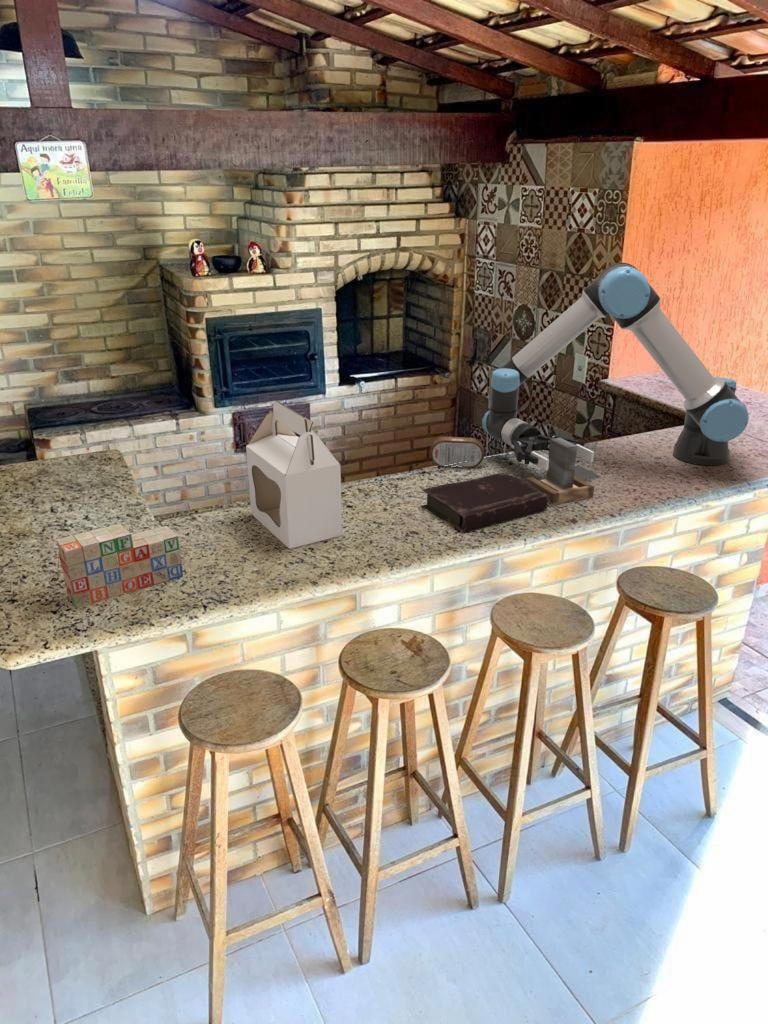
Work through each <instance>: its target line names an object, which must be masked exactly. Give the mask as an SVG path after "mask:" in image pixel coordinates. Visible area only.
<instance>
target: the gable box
mask: <svg viewBox="0 0 768 1024" xmlns="http://www.w3.org/2000/svg"><path fill="white" fill-rule="evenodd" d="M272 403H273V406H272V407H273V408H272V410H269V412H268V413H267V414H266V415H265V416H264V418H263V419H262V421H261V422H260V424H259V425H258V427H257V429H256V430H255V431H254V434H253V435H252V437H251V438H250V440H249V441H248V443H247V445H246V447H245V450H246V460H247V461H246V462H247V463H246V464H247V473H248V476H247V477H248V489H249V497H250V498H249V500H250V501H249V502H250V512H251V515H252V516H253V517H254V518H255V519H256V520H257V521H258V522H259V523H260V524H262V525H263V526H264V527H265V528H266V529H267V530H268V531H269V532H270V533H272V535H273V536H274V537H276V538H277V539H278V541H280V542H281V543H282V544H284V546H286V548H288V549H289V550H291V549H296V548H298V547H303V546H307V545H311V544H314V543H318V542H321V541H322V542H323V541H327V540H330V539H333V538H334V539H335V538H337V537H341V536H342V535H343V524H342V523H343V521H342V517H343V516H342V485H341V484H342V478H341V477H342V476H341V473H342V471H341V463H340V461H338V460H337V459H336V458H335V457H334V455H333V454H332V453H331V451H330V450H329V448H328V447H327V446H326V445H325V444H324V442H323V441H322V439H321V438H320V437H319V436H318V434H317V433H315V432H313V431H311V429H312V427H313V424H314V422H313V421H312V420H310V419H309V418H307V417H305V416H304V415H303V414H300V413H298V412H297V411H295V410H294V409H292V408H290V407H289V406H287V405H285V404H283V403H282V402H280V401H279V400H274V401H273V402H272ZM296 434H298V435H299V436H297V435H296ZM311 461H312V462H313V464H311Z"/></svg>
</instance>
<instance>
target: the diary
mask: <svg viewBox="0 0 768 1024" xmlns="http://www.w3.org/2000/svg"><path fill="white" fill-rule="evenodd" d="M421 491H422V492H423V493H425V494H426V504H423V505H421V507H422V508H423V507H424V509H425V510H426V509H427V510H426V511H428V512H430V513H431V514H433V515H435V516H436V517H438V518H440V519H442V520H443V521H449V522H451V523H452V524H454V525H456V526H457V527H460V528H458V530H460V529H463V531H462V533H467V532H470V530H471V531H473V530H477V529H481V528H484V527H487V525H488V526H491V524H492V525H495V524H494V523H496V524H499V523H502V521H503V522H506V520H507V521H510V520H509V519H511V520H513V518H514V519H517V518H520V516H521V517H524V516H528V515H532V514H536V513H538V512H543V511H547V508H548V496H547V494H545V493H543V492H541V491H539V490H537V489H535V488H533V487H532V486H530V485H528V484H527V483H526V481H523V480H521V479H520V478H517V477H516V476H512V475H511V474H508V473H506V472H498V473H494V474H491V475H490V474H489V475H485V476H482V477H477V478H473V479H468V480H464V481H458V482H451V483H444V484H439V485H436V486H432V487H428V488H424V489H421ZM498 522H499V523H498ZM480 527H481V528H480Z"/></svg>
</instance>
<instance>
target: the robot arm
mask: <svg viewBox="0 0 768 1024" xmlns="http://www.w3.org/2000/svg"><path fill="white" fill-rule="evenodd" d="M661 301H662V299H661V297H660V296H659V294H658V293H657V292H656V290H655V289H654V288H653V287H652V285H651V284H650V283H649V280H648V279H647V277H646V276H645V274H644V273H642V272H641V271H640V270H638V268H637V267H636V266H635V265H633V264H631V263H628V262H616V263H612V264H610V265H609V266H607V267H606V268H605V269H604V270H602V271H601V272H600V273H599V275H598V276H596V278H595V279H594V280H593V281H591V282H590V283H589V284H588V286H587V287H585V288H584V289H583V290H582V295H581V297H580V298H579V299H577V300H576V301H575V302H574V303H573V304H571V305H570V306H569V307H568V308H567V309H566V310H565V311H563V312H562V314H560V315H559V316H558V317H557V318H556V319H555V320H553V321H552V322H551V323H550V324H549V325H548V326H547V327H546V328H544V329H543V330H542V331H541V332H540V333H539V334H538V335H536V336H535V337H534V338H533V339H532V340H531V341H530V342H528V343H527V344H526V345H525V346H524V347H523V348H522V349H520V350H519V351H518V352H517V353H516V354H515V355H514V356H512V358H510V359H509V360H508V361H507V362H506V363H503V364H501V365H499V367H498V368H497V369H495V370H493V372H492V374H491V375H492V376H491V380H490V404H489V410H488V411H486V412H485V413H484V416H483V418H482V420H481V425H482V429H483V430H484V432H485V433H486V434H489V436H491V437H492V438H494V439H497V440H499V441H501V442H503V443H504V444H507V445H508V446H510V451H512V452H513V454H514V456H515V458H516V462H517V463H521V462H522V461H524V463H523V465H530V464H533V465H535V466H537V467H539V468H540V469H541V470H544V471H546V472H547V470H548V467H549V459H548V457H545V456H543V455H541V454H539V453H538V451H541V452H542V451H546V452H547V451H548V452H549V443H550V439H554V438H562V439H564V440H566V441H568V442H570V443H572V444H574V445H576V446H577V453H576V457H579V458H581V459H582V460H585V461H586V462H588V463H593V462H594V458H595V451H593V450H591V449H589V448H587V447H585V443H586V442H585V441H584V440H578V439H574V438H569V437H564V436H560V435H557V434H554V433H551V434H550V436H545V435H544V434H543V435H542V433H541V431H540V429H539V428H537V426H534V425H532V424H530V423H528V422H527V421H523V420H522V419H520V418H517V415H518V404H519V403H518V401H519V391H520V386H522V385H523V383H525V382H526V381H527V380H528V379H529V378H531V377H532V376H533V375H534V374H535V373H536V372H538V371H539V370H540V369H541V368H542V367H544V365H545V364H547V363H548V362H549V361H551V360H552V359H554V357H555V356H556V355H558V353H560V352H561V351H562V350H564V349H565V348H566V347H567V346H568V345H569V344H570V343H572V342H573V341H574V340H575V339H576V338H578V336H580V335H581V334H582V333H584V331H586V330H587V329H588V328H589V327H591V325H592V326H593V324H595V322H597V321H598V319H603V318H607V317H608V316H609V315H610V317H611V318H612V319H613V320H614V321H615V322H616V324H617V325H618V326H619V328H621V330H626V331H631V333H632V334H633V335H634V336H635V337H636V339H637V340H638V342H640V343H641V345H642V346H643V348H644V349H645V350H646V352H647V353H648V354H649V355H650V357H651V358H652V359H653V360H654V361H655V363H656V364H657V365H658V367H659V368H660V369H661V371H662V372H663V373H664V374H665V376H666V377H667V378H668V379H669V380H670V382H671V383H672V384H673V385H674V386H675V388H676V389H677V391H678V392H679V393H680V394H681V396H682V397H683V398H684V404H683V408H684V409H685V410H686V411H685V417H684V424H683V428H682V431H681V432H680V434H679V436H678V438H677V440H676V442H675V444H674V446H673V449H672V455H673V456H674V457H675V458H676V459H678V460H680V461H682V462H684V463H685V462H686V463H689V464H694V465H698V466H699V465H701V466H722V465H724V464H726V463H729V460H730V455H731V450H730V449H729V441H732V440H734V439H736V438H738V437H739V436H740V435H742V434H743V433H744V431H745V430H746V429H747V427H748V423H749V418H750V417H749V416H750V415H749V412H748V408H747V406H746V405H745V404H744V403H743V402H741V400H740V399H739V398H738V396H737V395H736V391H737V381H736V380H735V379H732V378H727V377H719V376H717V377H716V376H713V375H712V373H711V372H710V370H709V369H708V368H707V366H705V364H704V363H703V362H702V360H701V359H700V358H699V357H698V355H697V354H696V352H694V349H692V348H691V346H690V345H689V344H688V342H687V341H686V340H685V339H684V338H683V335H681V333H680V332H679V331H678V329H676V327H675V326H674V324H673V323H672V322H671V320H670V319H669V318H668V316H666V314H665V313H664V311H662V309H661ZM640 343H639V344H640Z"/></svg>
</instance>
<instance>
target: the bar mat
mask: <svg viewBox="0 0 768 1024" xmlns="http://www.w3.org/2000/svg"><path fill="white" fill-rule="evenodd" d="M574 476H576V477H578V478H580V479H582V480H583V481H585V482H586V481H590V480H595V479H599V478H602V476H601V475H598V474H597V473H595V472H594V471H591V470H589V469H587V468H585V467H583V466H581V465H579V464H577V465H575V471H574Z"/></svg>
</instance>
